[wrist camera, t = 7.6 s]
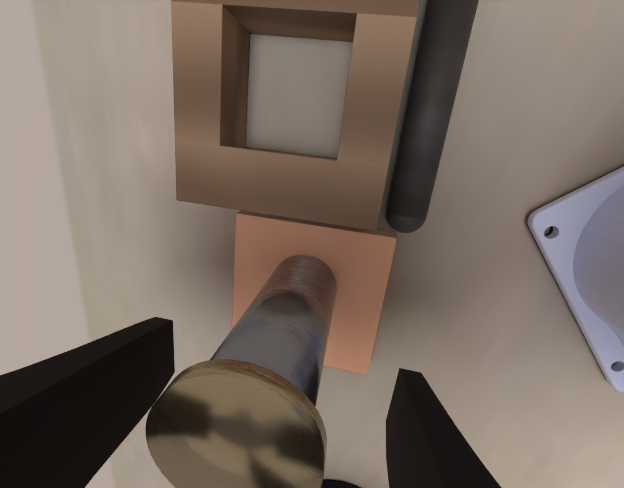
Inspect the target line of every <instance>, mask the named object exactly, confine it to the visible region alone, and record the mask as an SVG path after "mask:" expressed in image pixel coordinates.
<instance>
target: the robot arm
mask: <svg viewBox="0 0 624 488" xmlns="http://www.w3.org/2000/svg"><path fill="white" fill-rule="evenodd" d="M528 226H529V228H530V230H531V232H532V234H533V236H534V238H535V240H536V242H537V244H538V246H539V248H540V250H541V252H542V254H543V256H544V258H545V260H546V262H547V264H548V266H549V268H550V269H551V271H552V273H553V275H554V277H555V279H556V281H557V283H558V285H559V287H560V289H561V291H562V293H563V295H564V297H565V299H566V301H567V303H568V305H569V307H570V309H571V311H572V313H573V315H574V317H575V319H576V321H577V323H578V325H579V326H580V328H581V330H582V332H583V334H584V336H585V338H586V340H587V342H588V344H589V346H590V348H591V350H592V352H593V354H594V356H595V358H596V360H597V362H598V364H599V366H600V368H601V370H602V372H603V374H604V376H605V378H606V380H607V381H608V383H609V384H610V385H611V386H612V387H613V388H614V389H615V390H617V391H619V392H624V166H623V167H621V168H619V169H617V170H615V171H613V172H611V173H609V174H607V175H605V176H603V177H601V178H599V179H597V180H595V181H593V182H591V183H589V184H587V185H585V186H583V187H581V188H579V189H577V190H575V191H573V192H571V193H569V194H567V195H565V196H563V197H561V198H559V199H557V200H555V201H553V202H551V203H549V204H547V205H545V206H543V207H541V208H539V209H537V210H535V211H534V212H532V213H531V215H530V216H529V218H528ZM550 226H552V227H553V231H552V233H551V234H550V235H549V236H544V232H545V229H547V228H548V227H550ZM614 362H617V363H616V364H614V365H612V364H613V363H614ZM174 372H175V368H174V341H173V320H168V319H163V318H158V317H154V318H151V319H148V320H145V321H142V322H140V323H137V324H134V325H132V326H129V327H127V328H124V329H122V330H120V331H117V332H115V333H112V334H110V335H107V336H105V337H102V338H100V339H97V340H95V341H92V342H90V343H87V344H85V345H83V346H80V347H78V348H75V349H72V350H70V351H67V352H64V353H62V354H59V355H56V356H54V357H51V358H48V359H46V360H43V361H40V362H38V363H35V364H32V365H30V366H27V367H24V368H21V369H18V370H15V371H12V372H10V373H6V374H3V375H0V488H85V486H86V485H87V484H88V483H89V481H90V480H91V479H92V477H93V476H94V475H95V474H96V473H97V471H98V470H99V469H100V468H101V467H102V466H103V464H104V463H105V462H106V461H107V460H108V458H109V457H110V456H111V455H112V454H113V452H114V451H115V450H116V449H117V448H118V446H119V445H120V444H121V443H122V442H123V440H124V439H125V438H126V437H127V436H128V434H129V433H130V432H131V431H132V430H133V428H134V427H135V426H136V425H137V424H138V422H139V421H140V420H141V419H142V418H143V416H144V415H145V414H146V413H147V412H148V410H149V409H150V408H151V407H152V405H153V404H154V403H155V402H156V400H157V399H158V397H159V396H160V394H161V393H162V391H163V390H164V388H165V387H166V385H167V383H168V382H169V380H170V379H171V377H172V375H173V374H174ZM386 460H387V470H388V479H389V488H501V487H500V485H499V484H498V483H497V482H496V480H495V479H494V478H493V476H492V475H491V474H490V472H489V471H488V470H487V469H486V467H485V466H484V465H483V463H482V462H481V461H480V459H479V458H478V456H477V455H476V454H475V452H474V451H473V450H472V448H471V447H470V445H469V444H468V442H467V441H466V440H465V438H464V437H463V435H462V434H461V432H460V431H459V430H458V428H457V427H456V425H455V424H454V422H453V421H452V419H451V418H450V416H449V415H448V413H447V412H446V410H445V409H444V407H443V406H442V404H441V403H440V401H439V400H438V398H437V396H436V395H435V393H434V392H433V390H432V389H431V387H430V386H429V384H428V382H427V381H426V379H425V378H424V376H423V375H422V373H420V372H415V371H410V370H406V369H401V368H399V372H398V376H397V380H396V384H395V388H394V392H393V396H392V400H391V404H390V408H389V411H388V415H387V419H386Z"/></svg>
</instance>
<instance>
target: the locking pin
mask: <svg viewBox="0 0 624 488" xmlns="http://www.w3.org/2000/svg"><path fill="white" fill-rule="evenodd" d="M336 292H337V282H336V278H335V276H334V274H333V272H332V270H331V269H330V268H329V267H328V266H327V265H326V264H325V263H324V262H323V261H321V260H320V259H318V258H315V257H313V256H309V255H295V256H292V257H289V258H287V259H285V260H284V261H282V262H281V263H280V264H279V265H278V267H277V268H276V269H275V271H274V272H273V273H272V275H271V276H270V278H269V279H268V280H267V282H266V283H265V285H264V286H263V287H262V289H261V290H260V291H259V293H258V294H257V296H256V297H255V298H254V300H253V301H252V303H251V304H250V305H249V307H248V308H247V310H246V311H245V312H244V314H243V315H242V316H241V318H240V319H239V321H238V322H237V323H236V325H235V326H234V328H233V329H232V330H231V332H230V333H229V334H228V336H227V337H226V339H225V340H224V341H223V343H222V344H221V346H220V347H219V348H218V350H217V351H216V353H215V354H214V355H213V357H212V358H211V359H210V360H209V361H205V362H201V363H198V364H195V365H193V366H190V367H189V368H187V369H185V370H184V371H182V372H181V373H180V374H179V375H178V376H177V377H175V379H174V380H173V381H172V382H171V384H170V385H169V386H168V387H167V389H166V390H165V391H164V392H163V393H162V395H161V396H160V397H159V398H158V400H157V401H156V402H155V403H154V405H153V406H152V408H151V410H150V412H149V414H148V418H147V421H146V439H147V444H148V448H149V450H150V453H151V456H152V458H153V459H154V461H155V463H156V465H157V466H158V468H159V469H160V471H161V472H162V473H163V475H164V476H165V477H166V478H167V479H168V480H169V481H170V482H171V483H172V484H173V485H174V486H175V487H176V488H321V485H322V481H323V475H324V467H325V458H326V450H327V436H326V430H325V427H324V424H323V421H322V419H321V417H320V414H319V412H318V411H317V409H316V408H315V406H316V401H317V395H318V390H319V384H320V379H321V373H322V368H323V363H324V357H325V352H326V346H327V341H328V335H329V330H330V325H331V319H332V314H333V308H334V303H335V297H336Z"/></svg>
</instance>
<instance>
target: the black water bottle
mask: <svg viewBox="0 0 624 488" xmlns="http://www.w3.org/2000/svg"><path fill="white" fill-rule="evenodd" d="M321 488H358V487H356V486H353V485H350V484H347V483H344V482H339V481H329V480H324V481H322V485H321Z"/></svg>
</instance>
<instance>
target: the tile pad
mask: <svg viewBox="0 0 624 488" xmlns="http://www.w3.org/2000/svg"><path fill="white" fill-rule="evenodd" d="M396 241H397V237H396V234H395V232H394V231H391V230H384V229H377V230H376V231H374V230H368V229H361V228H355V227H348V226H342V225H335V224H328V223H322V222H315V221H309V220H302V219H296V218H289V217H283V216H276V215H270V214H263V213H257V212H250V211H244V210H242V211H240V212H238V213H236V231H235V258H234V286H233V313H232V329H233V328H234V326H235V325H236V323H237V322H238V321H239V319H240V318H241V316H242V315H243V314H244V312H245V311H246V310H247V308H248V307H249V305H250V304H251V303H252V301H253V300H254V298H255V297H256V296H257V294H258V293H259V291H260V290H261V289H262V287H263V286H264V285H265V283H266V282H267V280H268V279H269V278H270V276H271V275H272V273H273V272H274V271H275V269H276V268H277V267H278V265H279V264H280V263H281V262H282V261H284V260H285V259H287V258H289V257H292V256H295V255H309V256H313V257H315V258H318V259H320V260H321V261H323V262H324V263H325V264H326V265H327V266H328V267H329V268H330V269H331V270H332V272H333V274H334V276H335V278H336V282H337V292H336V297H335V303H334V308H333V314H332V319H331V325H330V330H329V335H328V341H327V346H326V352H325V357H324V363H323V366H328V367H332V368H337V369H342V370H346V371H351V372H356V373H360V374H365V375H368V371H369V366H370V362H371V357H372V352H373V348H374V343H375V338H376V334H377V329H378V324H379V320H380V315H381V310H382V306H383V301H384V296H385V292H386V287H387V282H388V278H389V273H390V269H391V264H392V259H393V255H394V250H395V245H396Z"/></svg>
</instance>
